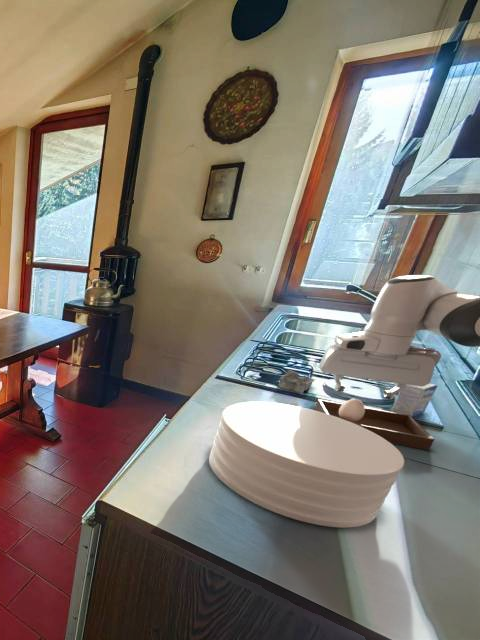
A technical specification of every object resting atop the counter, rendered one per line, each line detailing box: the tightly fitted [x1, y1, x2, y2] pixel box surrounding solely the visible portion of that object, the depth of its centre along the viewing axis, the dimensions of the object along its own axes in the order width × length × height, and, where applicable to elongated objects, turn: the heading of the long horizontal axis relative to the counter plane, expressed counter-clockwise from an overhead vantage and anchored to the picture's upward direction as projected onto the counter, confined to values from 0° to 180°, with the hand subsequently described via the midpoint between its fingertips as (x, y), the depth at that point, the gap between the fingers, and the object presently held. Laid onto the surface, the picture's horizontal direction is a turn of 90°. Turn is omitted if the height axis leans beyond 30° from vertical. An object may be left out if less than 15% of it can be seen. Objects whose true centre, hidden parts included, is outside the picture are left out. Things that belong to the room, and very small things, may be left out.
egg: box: [339, 398, 366, 423], centre depth 103 cm, size 5×5×7 cm
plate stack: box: [208, 401, 405, 529], centre depth 80 cm, size 28×28×12 cm
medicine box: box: [390, 382, 438, 418], centre depth 110 cm, size 8×4×9 cm, turn 114°
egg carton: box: [277, 369, 316, 393], centre depth 127 cm, size 11×8×4 cm
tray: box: [313, 398, 435, 451], centre depth 102 cm, size 19×14×3 cm
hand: (362, 394), depth 101 cm, fingers open, 8 cm apart
